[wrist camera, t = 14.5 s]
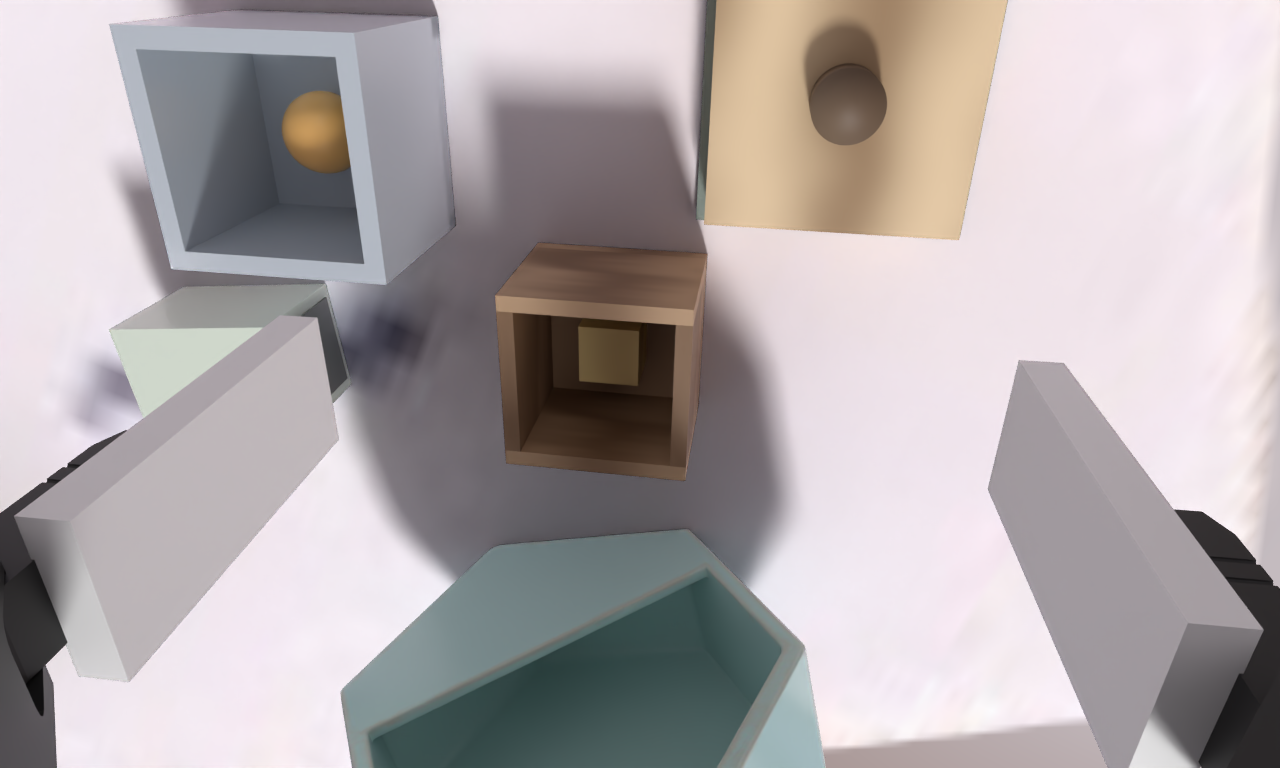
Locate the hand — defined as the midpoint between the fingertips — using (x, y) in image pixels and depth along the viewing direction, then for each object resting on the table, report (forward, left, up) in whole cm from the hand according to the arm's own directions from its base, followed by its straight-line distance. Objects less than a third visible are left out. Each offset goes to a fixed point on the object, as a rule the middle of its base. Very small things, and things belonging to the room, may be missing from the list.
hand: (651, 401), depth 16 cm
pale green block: (-20, -9, -19) cm, 29 cm away
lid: (+4, +3, -18) cm, 19 cm away
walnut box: (-4, -7, -19) cm, 20 cm away
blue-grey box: (-15, +1, -19) cm, 24 cm away
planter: (-4, -22, -19) cm, 29 cm away
